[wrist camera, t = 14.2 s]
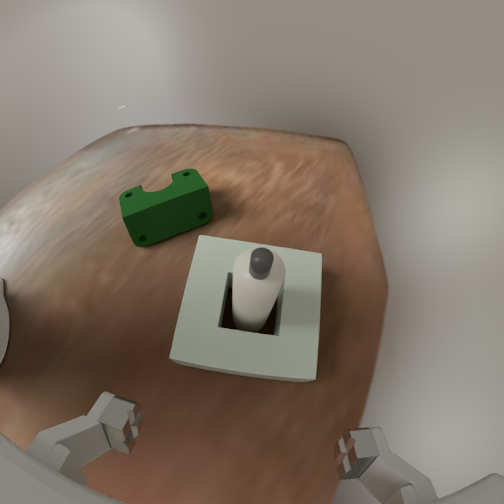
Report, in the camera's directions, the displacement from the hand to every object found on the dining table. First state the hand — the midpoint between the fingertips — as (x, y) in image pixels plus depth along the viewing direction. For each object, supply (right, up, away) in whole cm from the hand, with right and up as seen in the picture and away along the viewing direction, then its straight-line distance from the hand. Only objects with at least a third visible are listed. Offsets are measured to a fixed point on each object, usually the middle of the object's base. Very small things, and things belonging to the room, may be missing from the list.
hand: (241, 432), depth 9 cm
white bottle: (0, 0, +22) cm, 22 cm away
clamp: (-11, +12, +29) cm, 33 cm away
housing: (0, 0, +22) cm, 22 cm away
